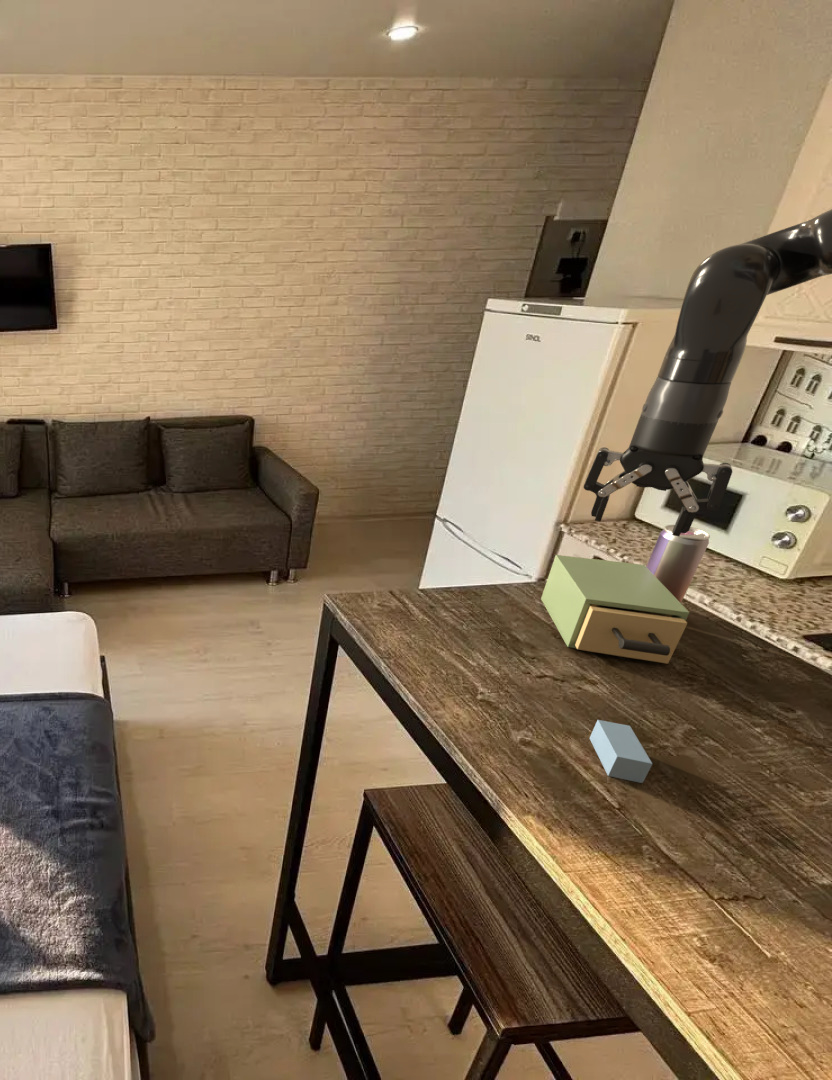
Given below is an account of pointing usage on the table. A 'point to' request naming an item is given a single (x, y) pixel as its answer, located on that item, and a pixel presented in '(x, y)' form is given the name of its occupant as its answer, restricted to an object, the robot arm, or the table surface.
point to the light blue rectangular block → (620, 751)
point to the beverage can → (677, 558)
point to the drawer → (630, 633)
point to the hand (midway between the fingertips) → (635, 526)
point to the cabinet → (602, 592)
